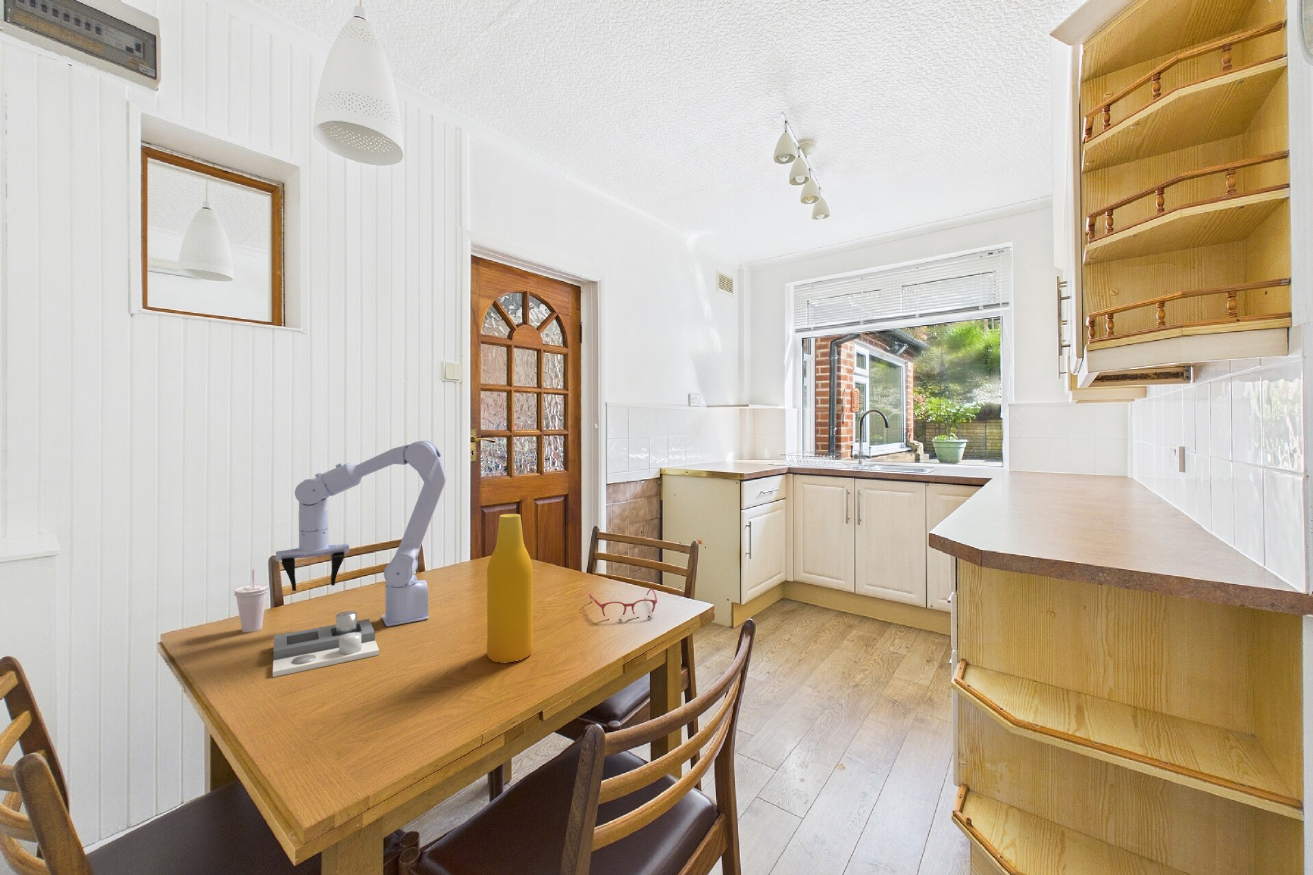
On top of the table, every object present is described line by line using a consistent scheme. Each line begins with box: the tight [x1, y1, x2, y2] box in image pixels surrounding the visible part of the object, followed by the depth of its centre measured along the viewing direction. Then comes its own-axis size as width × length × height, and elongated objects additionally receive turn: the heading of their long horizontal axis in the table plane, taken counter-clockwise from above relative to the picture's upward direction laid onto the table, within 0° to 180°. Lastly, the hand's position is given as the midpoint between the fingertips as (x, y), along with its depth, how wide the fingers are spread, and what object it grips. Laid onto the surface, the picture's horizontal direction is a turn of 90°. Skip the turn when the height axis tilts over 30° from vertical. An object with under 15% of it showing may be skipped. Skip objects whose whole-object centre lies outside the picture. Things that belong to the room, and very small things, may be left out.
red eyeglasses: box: [588, 588, 658, 617], centre depth 141 cm, size 17×16×5 cm
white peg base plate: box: [272, 633, 380, 678], centre depth 109 cm, size 18×6×4 cm, turn 124°
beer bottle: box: [486, 513, 534, 663], centre depth 112 cm, size 9×9×29 cm
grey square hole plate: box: [272, 618, 376, 661], centre depth 117 cm, size 18×10×2 cm, turn 124°
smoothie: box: [233, 569, 269, 633], centre depth 126 cm, size 6×6×14 cm
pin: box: [335, 610, 358, 636], centre depth 119 cm, size 4×4×6 cm
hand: (313, 587), depth 127 cm, fingers open, 7 cm apart
